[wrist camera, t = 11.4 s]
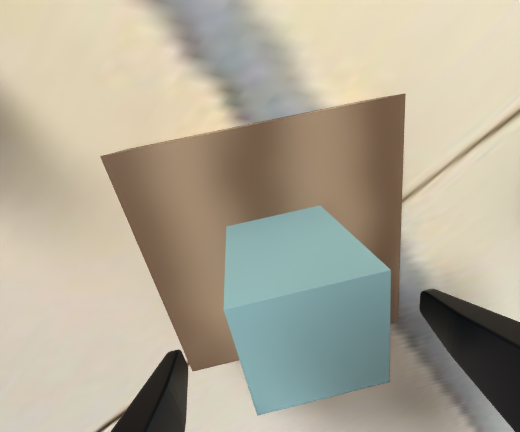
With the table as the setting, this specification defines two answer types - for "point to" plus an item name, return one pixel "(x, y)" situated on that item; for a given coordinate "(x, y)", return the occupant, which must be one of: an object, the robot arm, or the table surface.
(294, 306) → the teal block
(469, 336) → the robot arm
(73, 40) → the table surface
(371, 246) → the plinth
